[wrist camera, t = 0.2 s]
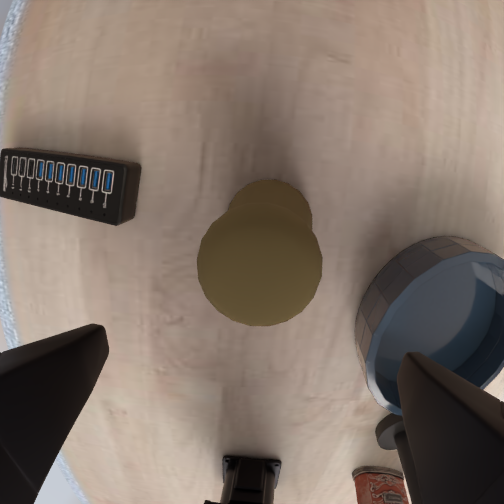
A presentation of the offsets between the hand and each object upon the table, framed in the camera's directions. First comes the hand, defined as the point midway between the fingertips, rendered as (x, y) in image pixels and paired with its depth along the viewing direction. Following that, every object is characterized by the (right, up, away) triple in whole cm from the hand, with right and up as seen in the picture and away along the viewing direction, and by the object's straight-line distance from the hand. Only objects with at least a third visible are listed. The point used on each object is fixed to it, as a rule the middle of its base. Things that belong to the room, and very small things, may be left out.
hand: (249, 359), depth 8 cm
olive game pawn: (+1, +5, +14) cm, 15 cm away
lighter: (+16, -25, +21) cm, 36 cm away
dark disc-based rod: (+15, -15, +18) cm, 28 cm away
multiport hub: (-15, +9, +14) cm, 23 cm away
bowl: (+15, -3, +14) cm, 21 cm away
